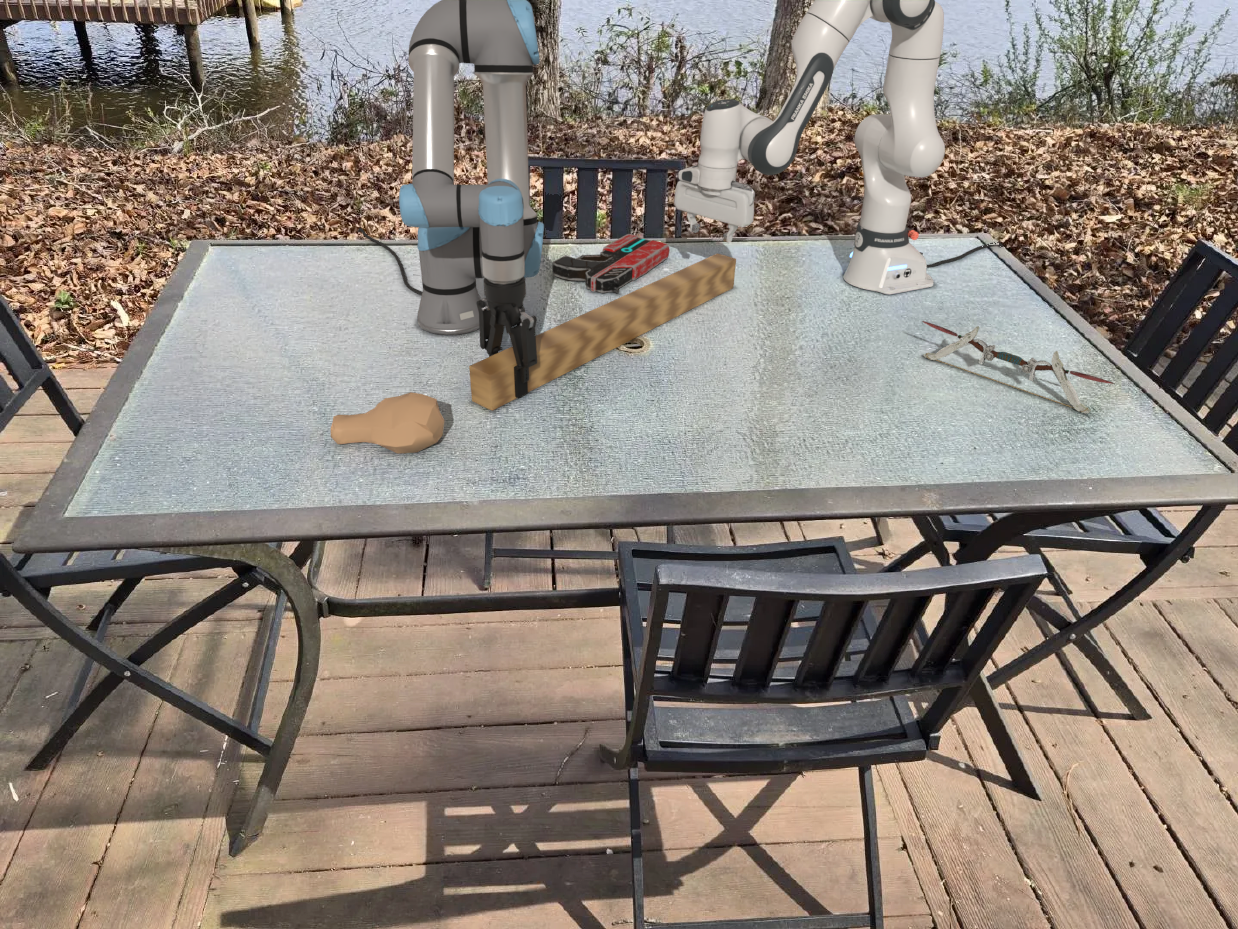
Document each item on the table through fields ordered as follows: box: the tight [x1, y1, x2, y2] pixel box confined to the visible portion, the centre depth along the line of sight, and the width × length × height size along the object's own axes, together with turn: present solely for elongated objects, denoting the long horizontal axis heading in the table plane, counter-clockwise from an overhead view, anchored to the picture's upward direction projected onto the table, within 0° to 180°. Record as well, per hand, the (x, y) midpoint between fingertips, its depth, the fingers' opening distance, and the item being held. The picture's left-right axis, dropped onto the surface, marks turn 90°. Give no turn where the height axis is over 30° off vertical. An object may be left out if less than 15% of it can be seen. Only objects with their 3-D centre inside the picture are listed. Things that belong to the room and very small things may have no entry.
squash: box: [330, 392, 446, 455], centre depth 152 cm, size 11×20×9 cm, turn 90°
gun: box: [551, 233, 671, 294], centre depth 224 cm, size 4×31×19 cm
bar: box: [468, 253, 737, 412], centre depth 190 cm, size 82×6×8 cm, turn 140°
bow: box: [921, 320, 1114, 414], centre depth 176 cm, size 39×2×10 cm, turn 47°
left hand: (510, 389), depth 171 cm, fingers closed on bar, 6 cm apart
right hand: (710, 236), depth 206 cm, fingers open, 8 cm apart
